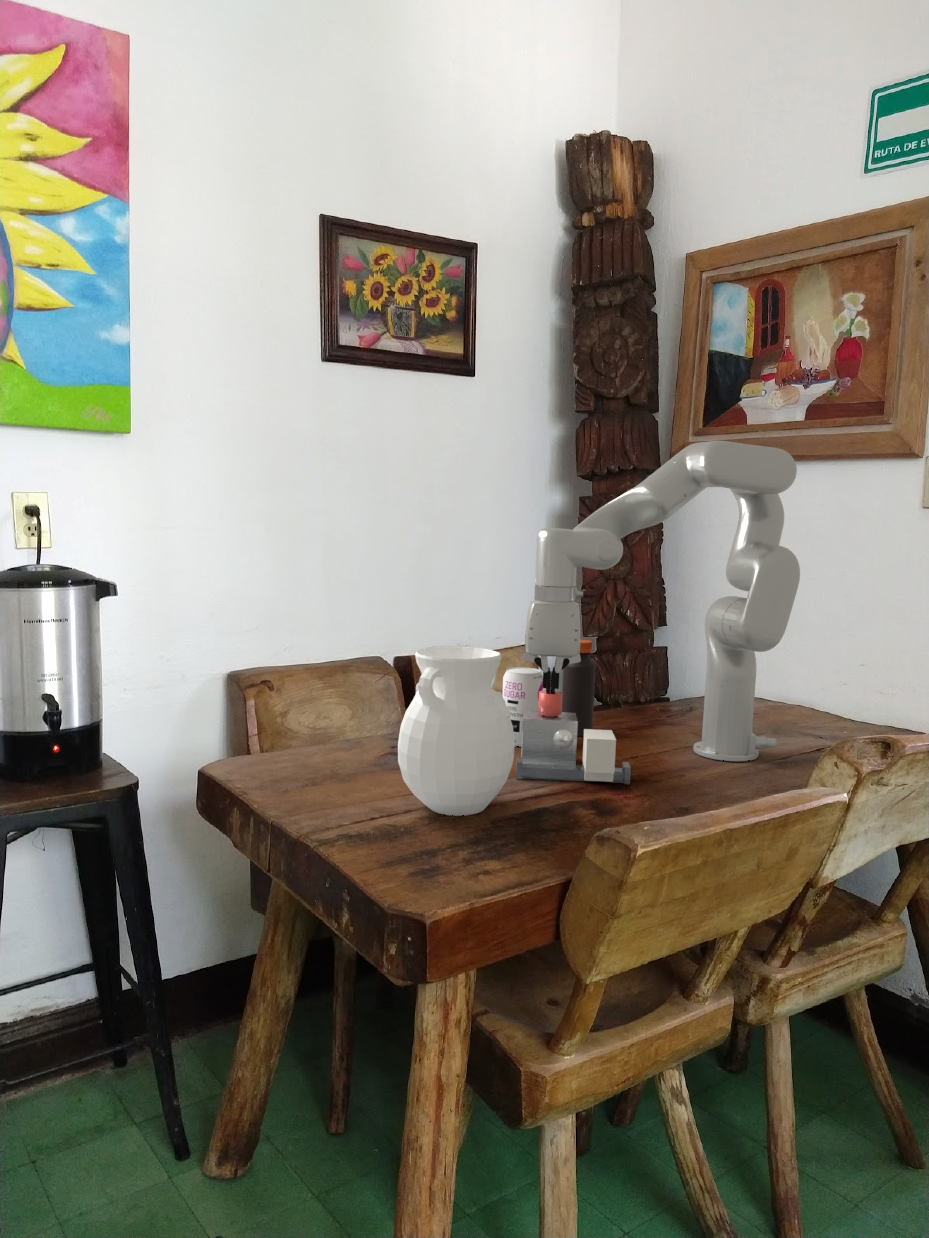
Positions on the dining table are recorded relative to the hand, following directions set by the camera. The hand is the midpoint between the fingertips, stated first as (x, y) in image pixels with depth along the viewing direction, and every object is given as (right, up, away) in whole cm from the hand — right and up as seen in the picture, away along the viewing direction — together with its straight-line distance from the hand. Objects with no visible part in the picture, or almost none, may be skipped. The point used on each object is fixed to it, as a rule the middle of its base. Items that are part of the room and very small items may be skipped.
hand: (550, 692), depth 173 cm
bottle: (+8, -11, +25) cm, 29 cm away
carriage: (+8, -15, -9) cm, 19 cm away
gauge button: (0, -7, +1) cm, 7 cm away
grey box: (0, -13, +2) cm, 14 cm away
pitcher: (-18, -16, -25) cm, 35 cm away
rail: (+3, -15, -8) cm, 17 cm away
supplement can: (-5, -12, +16) cm, 20 cm away
